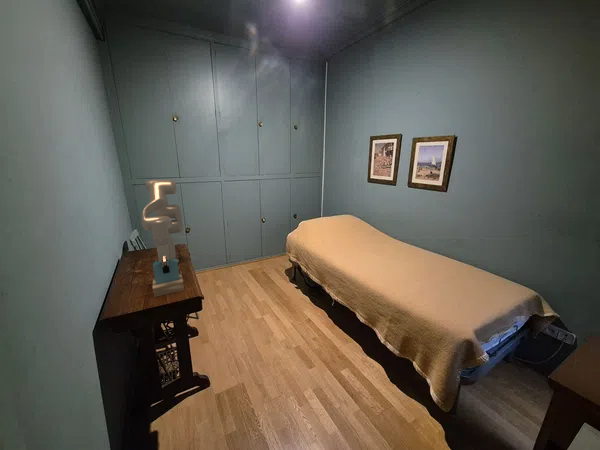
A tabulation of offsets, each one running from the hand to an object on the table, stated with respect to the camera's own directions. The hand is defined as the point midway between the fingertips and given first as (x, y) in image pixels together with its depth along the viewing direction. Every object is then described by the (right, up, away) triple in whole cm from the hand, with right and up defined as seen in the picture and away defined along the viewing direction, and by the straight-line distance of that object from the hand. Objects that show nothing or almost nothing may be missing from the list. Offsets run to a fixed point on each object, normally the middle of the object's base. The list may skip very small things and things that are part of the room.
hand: (166, 269), depth 135 cm
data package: (0, -7, +2) cm, 7 cm away
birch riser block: (0, -11, +3) cm, 12 cm away
